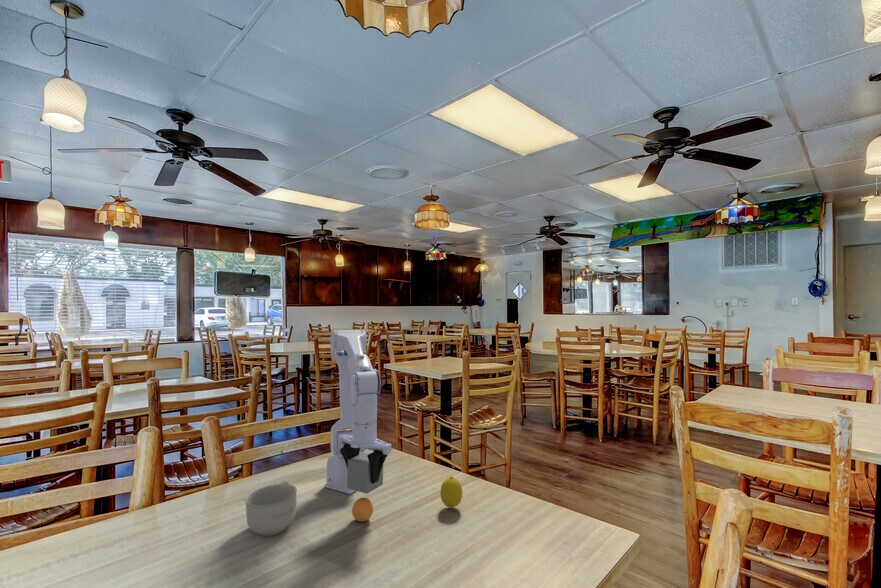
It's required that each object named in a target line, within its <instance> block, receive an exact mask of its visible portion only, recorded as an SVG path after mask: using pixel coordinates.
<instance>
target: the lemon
mask: <svg viewBox="0 0 881 588" xmlns="http://www.w3.org/2000/svg"><path fill="white" fill-rule="evenodd" d="M439 493H440V495H439V496H440V499H441V501H442V503H443V505H444V506H446V507H448V508H449V509H450V510H453V509H454V508H456V507H457V506H458V505H459V504H460V503H461V501H462V498H463V487H462V483H461V482H460V480H459V479H457V477H455V476H453V475H450V476H449V477H447V478H445V479H444V480H443V481H442V483H441V485H440V491H439Z"/></svg>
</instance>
